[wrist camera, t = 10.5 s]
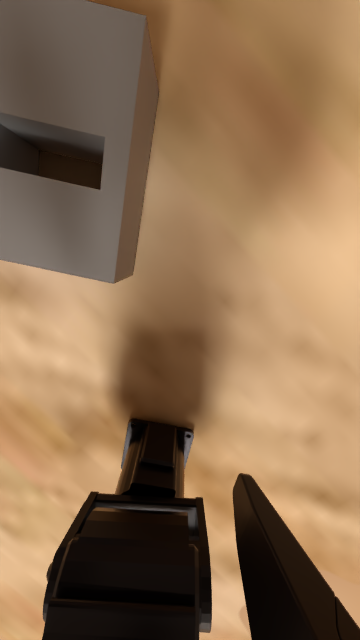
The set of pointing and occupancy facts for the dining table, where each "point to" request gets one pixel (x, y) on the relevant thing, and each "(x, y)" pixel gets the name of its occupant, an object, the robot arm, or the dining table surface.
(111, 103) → the socket board
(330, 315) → the dining table surface
